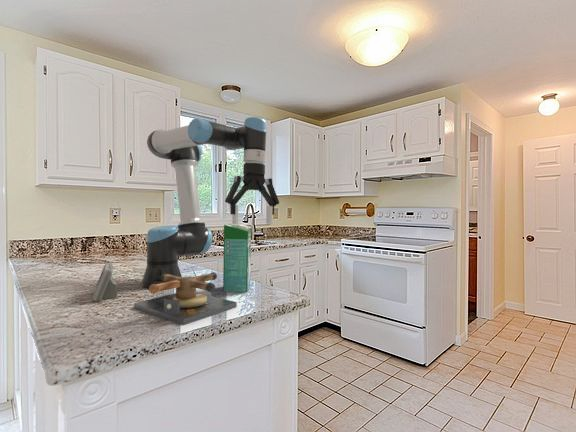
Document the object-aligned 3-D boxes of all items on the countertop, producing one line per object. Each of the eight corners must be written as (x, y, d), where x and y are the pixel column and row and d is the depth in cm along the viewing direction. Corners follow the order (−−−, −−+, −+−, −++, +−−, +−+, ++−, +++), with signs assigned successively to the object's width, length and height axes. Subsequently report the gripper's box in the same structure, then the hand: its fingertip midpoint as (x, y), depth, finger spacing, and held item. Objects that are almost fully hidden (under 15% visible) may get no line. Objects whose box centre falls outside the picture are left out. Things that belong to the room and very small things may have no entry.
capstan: (126, 303, 98) (126, 279, 97) (192, 288, 118) (192, 267, 118) (176, 320, 83) (177, 291, 83) (242, 299, 104) (242, 276, 104)
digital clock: (96, 291, 119) (96, 262, 118) (123, 289, 121) (123, 261, 121) (82, 303, 103) (82, 270, 103) (113, 301, 106) (113, 269, 106)
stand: (131, 308, 99) (131, 290, 99) (187, 294, 116) (187, 279, 116) (181, 325, 85) (181, 305, 85) (236, 306, 102) (236, 289, 102)
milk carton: (247, 292, 120) (248, 224, 120) (223, 291, 121) (223, 224, 120) (250, 286, 130) (251, 223, 129) (228, 285, 130) (228, 223, 129)
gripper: (225, 158, 103) (223, 225, 104) (289, 165, 117) (287, 224, 118) (216, 160, 109) (214, 223, 110) (278, 167, 123) (276, 223, 124)
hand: (252, 224), depth 114 cm, fingers open, 13 cm apart
